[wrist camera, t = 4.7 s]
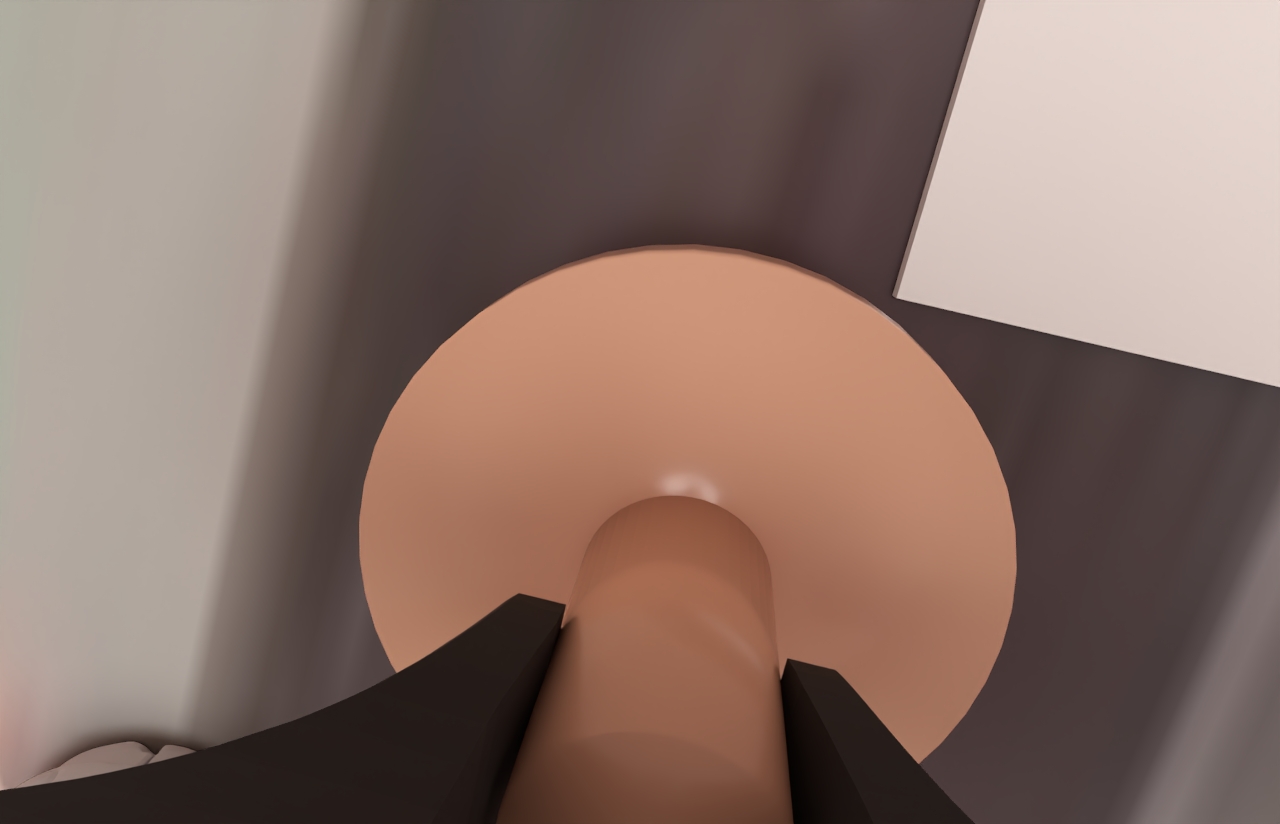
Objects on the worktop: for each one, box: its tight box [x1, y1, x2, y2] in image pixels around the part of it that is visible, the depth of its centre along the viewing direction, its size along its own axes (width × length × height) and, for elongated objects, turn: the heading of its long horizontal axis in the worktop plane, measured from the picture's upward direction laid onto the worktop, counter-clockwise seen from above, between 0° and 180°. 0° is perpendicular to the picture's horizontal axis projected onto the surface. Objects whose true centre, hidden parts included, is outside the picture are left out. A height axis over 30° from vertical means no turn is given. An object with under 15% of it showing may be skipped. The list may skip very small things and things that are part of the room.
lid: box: [359, 244, 1017, 824], centre depth 11 cm, size 10×10×6 cm
